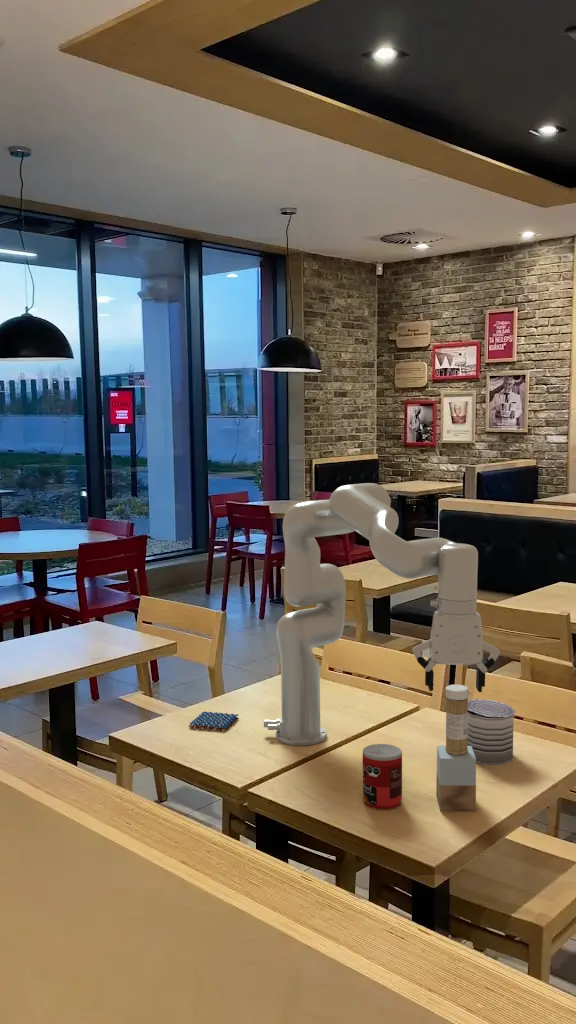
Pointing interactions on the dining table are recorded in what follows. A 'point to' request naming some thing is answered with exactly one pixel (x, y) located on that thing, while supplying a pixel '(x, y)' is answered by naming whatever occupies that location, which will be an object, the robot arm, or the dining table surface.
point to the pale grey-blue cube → (456, 767)
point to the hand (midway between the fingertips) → (454, 689)
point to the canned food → (382, 776)
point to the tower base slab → (455, 797)
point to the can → (490, 731)
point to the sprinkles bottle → (456, 719)
